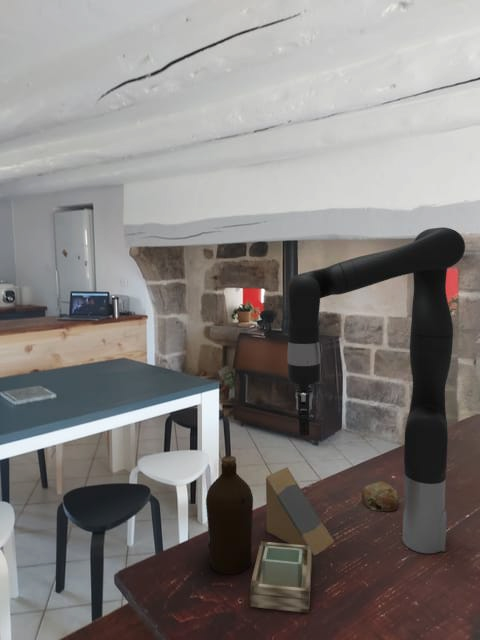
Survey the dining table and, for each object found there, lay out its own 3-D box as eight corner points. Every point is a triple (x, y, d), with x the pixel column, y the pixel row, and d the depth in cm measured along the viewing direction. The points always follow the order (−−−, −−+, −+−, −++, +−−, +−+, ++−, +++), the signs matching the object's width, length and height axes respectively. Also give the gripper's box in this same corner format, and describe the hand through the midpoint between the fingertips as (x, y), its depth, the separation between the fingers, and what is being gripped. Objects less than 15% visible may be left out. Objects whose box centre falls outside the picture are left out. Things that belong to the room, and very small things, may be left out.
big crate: (311, 564, 113) (311, 545, 113) (308, 613, 98) (309, 591, 97) (260, 560, 115) (260, 541, 115) (250, 606, 100) (250, 585, 99)
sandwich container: (314, 557, 116) (315, 496, 114) (265, 532, 127) (265, 476, 125) (335, 541, 122) (336, 483, 121) (287, 519, 133) (287, 465, 131)
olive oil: (260, 554, 118) (259, 452, 114) (243, 581, 108) (242, 471, 105) (218, 545, 121) (216, 446, 118) (199, 570, 112) (196, 464, 108)
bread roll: (360, 517, 140) (358, 498, 136) (365, 488, 148) (363, 469, 144) (396, 524, 137) (396, 505, 133) (400, 493, 145) (399, 475, 141)
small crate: (302, 574, 108) (302, 548, 108) (300, 591, 103) (301, 564, 102) (265, 571, 110) (265, 545, 109) (262, 587, 105) (262, 560, 104)
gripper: (320, 367, 108) (321, 440, 110) (320, 355, 122) (320, 419, 124) (285, 367, 109) (286, 439, 111) (289, 355, 123) (290, 418, 125)
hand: (304, 428), depth 117 cm, fingers open, 8 cm apart
